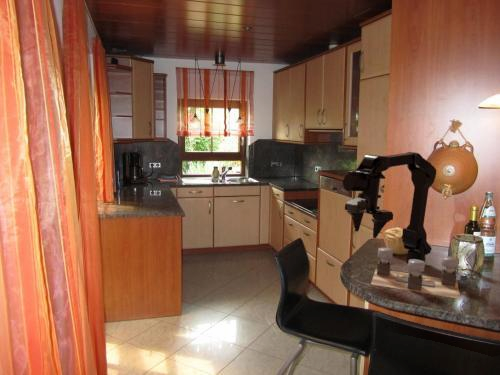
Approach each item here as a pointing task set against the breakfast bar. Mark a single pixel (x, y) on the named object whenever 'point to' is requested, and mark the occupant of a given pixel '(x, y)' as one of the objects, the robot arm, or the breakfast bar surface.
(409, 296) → the breakfast bar surface
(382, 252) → the button
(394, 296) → the breakfast bar surface
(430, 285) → the pattern card
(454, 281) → the button panel
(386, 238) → the sculpture
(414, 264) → the far button
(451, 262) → the button
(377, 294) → the breakfast bar surface
